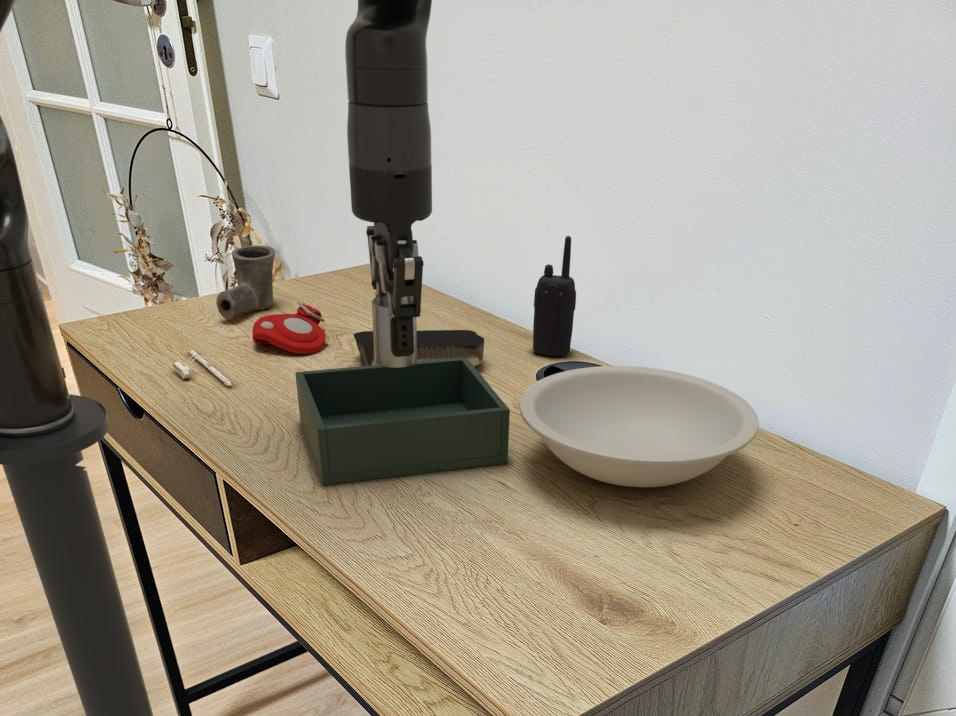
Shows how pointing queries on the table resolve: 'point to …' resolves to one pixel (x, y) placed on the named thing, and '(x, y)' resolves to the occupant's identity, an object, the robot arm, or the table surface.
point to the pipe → (249, 282)
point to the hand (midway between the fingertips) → (396, 345)
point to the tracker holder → (292, 330)
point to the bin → (401, 420)
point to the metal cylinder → (388, 336)
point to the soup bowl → (637, 423)
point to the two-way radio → (554, 309)
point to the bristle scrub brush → (431, 345)
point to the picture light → (185, 370)
